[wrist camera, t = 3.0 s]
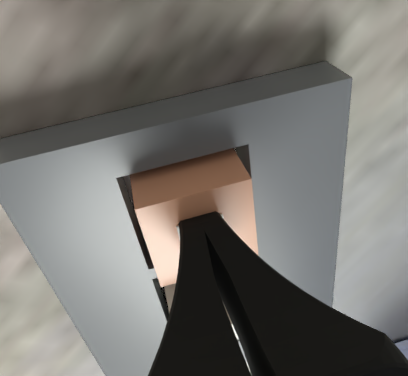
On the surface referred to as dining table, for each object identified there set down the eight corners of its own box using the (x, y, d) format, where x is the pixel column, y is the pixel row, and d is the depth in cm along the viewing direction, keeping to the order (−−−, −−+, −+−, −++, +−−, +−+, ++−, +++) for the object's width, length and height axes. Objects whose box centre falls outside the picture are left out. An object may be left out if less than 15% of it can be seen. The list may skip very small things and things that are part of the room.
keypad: (326, 60, 14) (352, 77, 13) (313, 335, 25) (327, 360, 24) (-9, 140, 13) (-21, 168, 12) (131, 391, 24) (133, 422, 22)
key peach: (225, 135, 15) (252, 180, 12) (235, 210, 17) (259, 260, 15) (127, 160, 14) (134, 211, 12) (151, 233, 17) (161, 288, 14)
